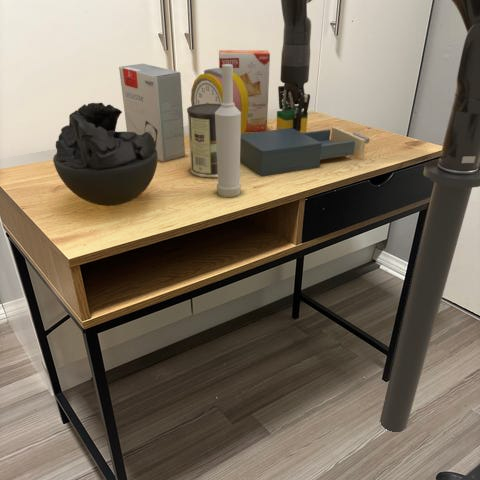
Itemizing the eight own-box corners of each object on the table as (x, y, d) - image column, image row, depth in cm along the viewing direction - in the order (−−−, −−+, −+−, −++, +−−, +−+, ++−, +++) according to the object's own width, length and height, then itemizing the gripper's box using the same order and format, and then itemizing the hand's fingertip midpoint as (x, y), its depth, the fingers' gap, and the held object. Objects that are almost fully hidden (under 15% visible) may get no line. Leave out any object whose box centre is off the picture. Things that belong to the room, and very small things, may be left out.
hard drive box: (127, 149, 135) (117, 66, 124) (151, 143, 140) (143, 62, 128) (162, 162, 126) (155, 74, 115) (186, 156, 130) (181, 70, 119)
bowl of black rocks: (134, 178, 117) (123, 90, 106) (179, 206, 104) (172, 109, 93) (49, 198, 107) (27, 103, 96) (86, 231, 94) (66, 126, 83)
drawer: (347, 139, 139) (348, 124, 137) (377, 153, 129) (379, 137, 127) (286, 147, 133) (287, 132, 131) (313, 163, 123) (315, 147, 121)
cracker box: (220, 132, 149) (218, 52, 136) (219, 126, 153) (218, 49, 141) (267, 132, 149) (270, 52, 137) (266, 126, 154) (268, 49, 142)
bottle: (245, 194, 109) (246, 65, 94) (224, 199, 107) (221, 68, 92) (233, 187, 113) (232, 62, 98) (212, 191, 110) (208, 64, 96)
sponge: (297, 130, 147) (298, 108, 144) (306, 135, 143) (307, 112, 140) (276, 133, 145) (276, 111, 141) (284, 137, 141) (285, 115, 138)
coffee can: (234, 164, 125) (234, 103, 117) (231, 178, 117) (231, 114, 109) (193, 163, 126) (190, 102, 118) (187, 177, 118) (183, 113, 109)
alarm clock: (191, 138, 144) (187, 66, 133) (213, 132, 148) (211, 63, 138) (225, 149, 135) (224, 74, 124) (248, 143, 139) (249, 70, 129)
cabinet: (290, 150, 135) (291, 127, 131) (319, 167, 124) (321, 142, 120) (235, 157, 129) (235, 134, 126) (261, 176, 118) (262, 151, 115)
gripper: (322, 65, 129) (316, 134, 139) (294, 57, 140) (290, 121, 150) (296, 67, 127) (292, 137, 137) (270, 59, 138) (268, 124, 147)
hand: (291, 128), depth 143 cm, fingers closed on sponge, 5 cm apart
